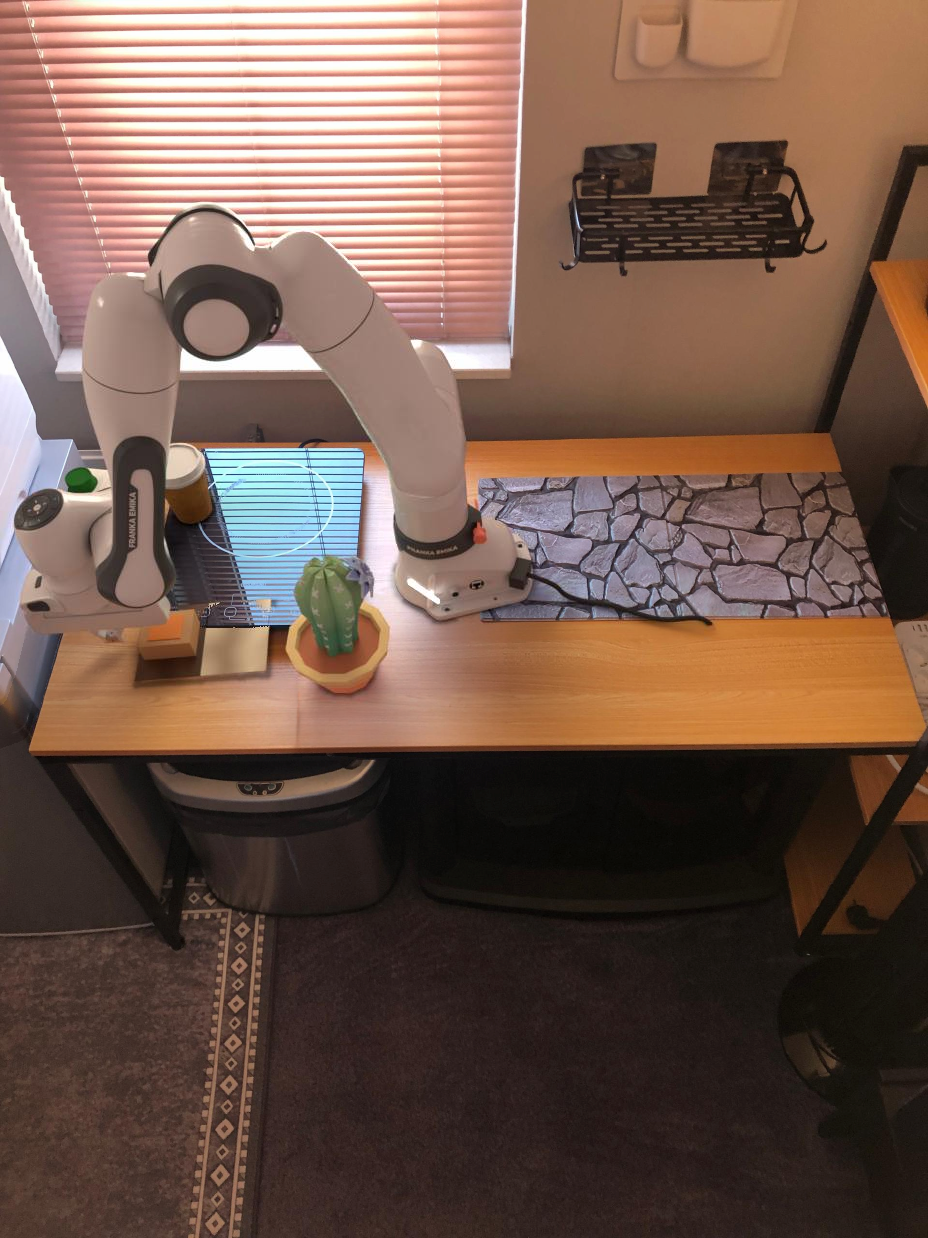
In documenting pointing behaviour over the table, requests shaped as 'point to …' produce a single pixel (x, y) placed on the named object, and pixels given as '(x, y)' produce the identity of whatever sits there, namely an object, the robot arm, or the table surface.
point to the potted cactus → (337, 625)
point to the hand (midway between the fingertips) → (115, 639)
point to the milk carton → (87, 480)
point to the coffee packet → (171, 637)
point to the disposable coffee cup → (187, 484)
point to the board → (214, 651)
